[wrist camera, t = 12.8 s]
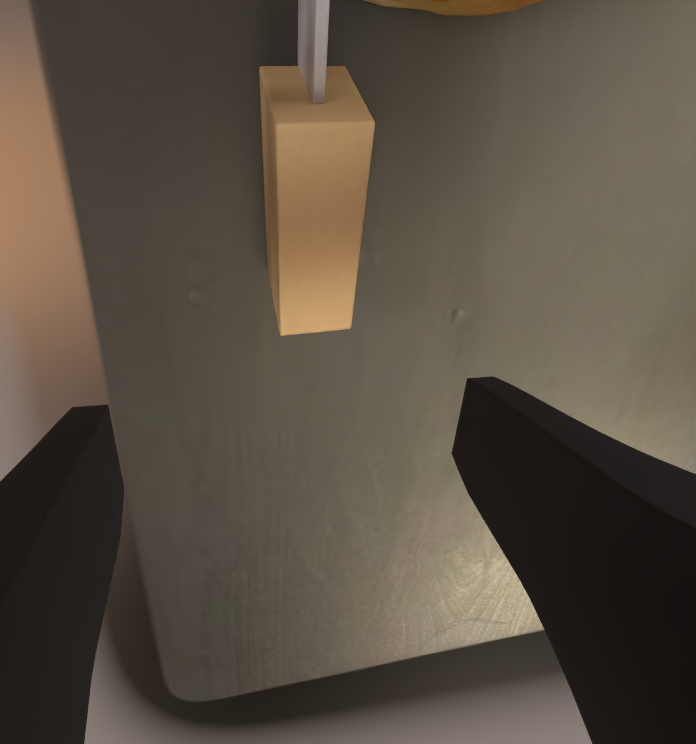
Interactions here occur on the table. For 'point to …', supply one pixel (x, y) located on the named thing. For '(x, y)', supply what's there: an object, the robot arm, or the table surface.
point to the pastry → (458, 6)
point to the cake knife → (313, 181)
